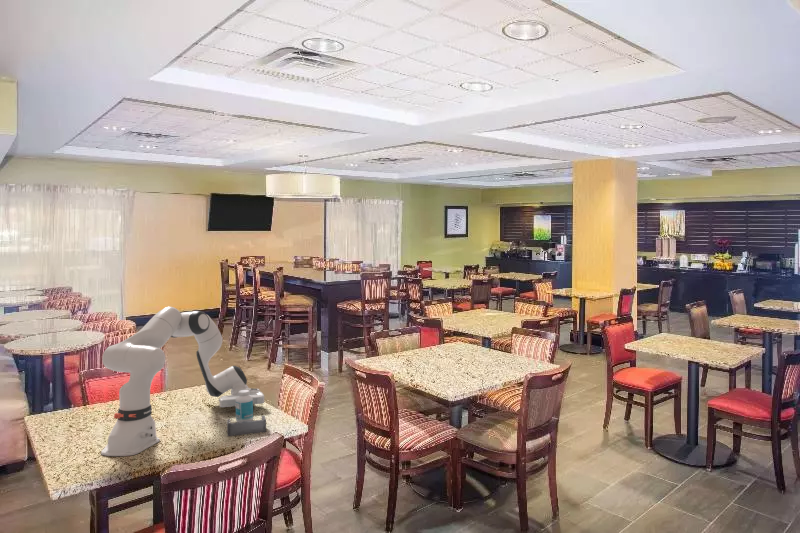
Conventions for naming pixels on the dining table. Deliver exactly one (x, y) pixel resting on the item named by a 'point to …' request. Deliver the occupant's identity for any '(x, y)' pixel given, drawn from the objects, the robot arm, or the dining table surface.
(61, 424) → the dining table surface
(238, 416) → the pill bottle
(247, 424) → the bracket
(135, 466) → the dining table surface
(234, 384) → the robot arm
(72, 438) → the dining table surface
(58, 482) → the dining table surface
